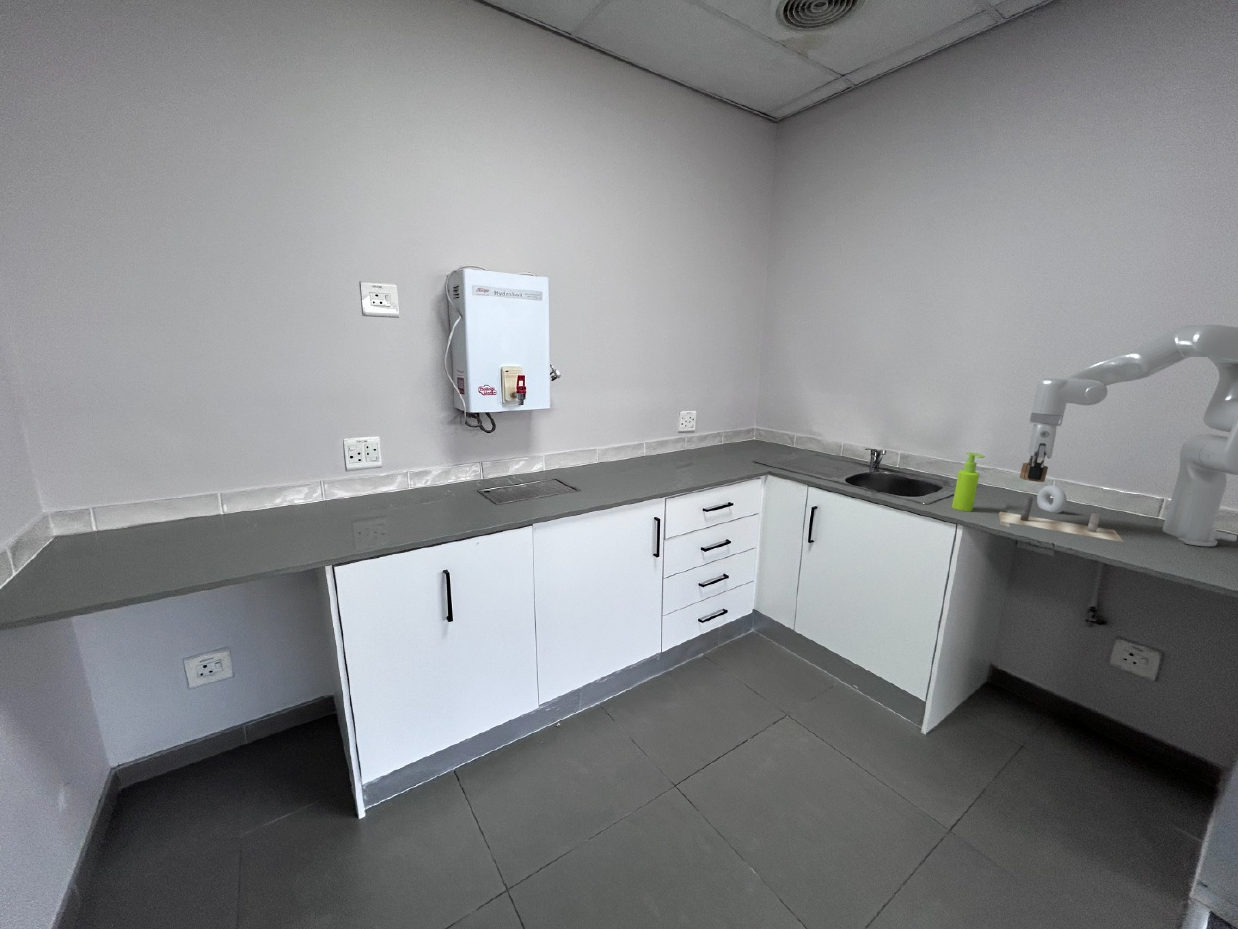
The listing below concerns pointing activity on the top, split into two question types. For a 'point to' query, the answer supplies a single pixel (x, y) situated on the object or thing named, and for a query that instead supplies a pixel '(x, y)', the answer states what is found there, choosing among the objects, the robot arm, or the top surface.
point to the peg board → (1058, 523)
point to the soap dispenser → (966, 485)
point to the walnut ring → (1026, 470)
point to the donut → (1058, 499)
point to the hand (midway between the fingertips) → (1033, 476)
